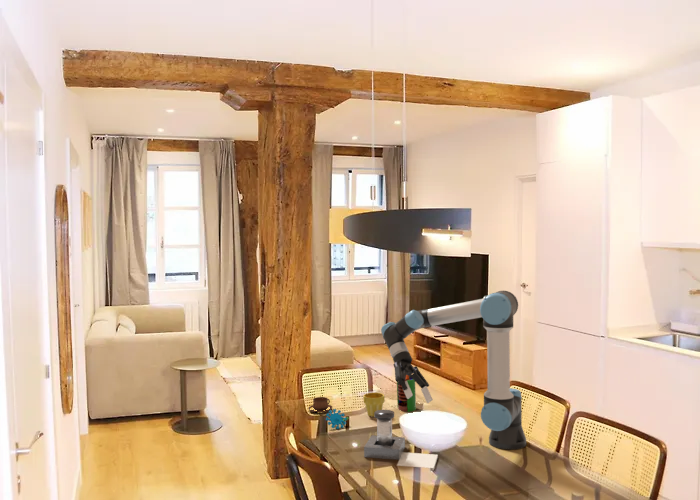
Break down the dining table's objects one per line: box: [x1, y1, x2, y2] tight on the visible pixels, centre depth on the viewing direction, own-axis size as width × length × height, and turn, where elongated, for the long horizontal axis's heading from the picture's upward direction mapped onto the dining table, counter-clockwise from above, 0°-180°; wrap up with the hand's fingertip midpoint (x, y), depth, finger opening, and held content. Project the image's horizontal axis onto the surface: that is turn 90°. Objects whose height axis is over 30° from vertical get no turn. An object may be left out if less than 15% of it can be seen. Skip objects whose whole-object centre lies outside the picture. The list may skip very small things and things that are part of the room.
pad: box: [396, 451, 439, 472], centre depth 238 cm, size 14×14×1 cm
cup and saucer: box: [308, 396, 333, 413], centre depth 309 cm, size 12×12×6 cm
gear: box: [325, 408, 349, 430], centre depth 284 cm, size 11×6×10 cm
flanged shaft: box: [373, 409, 395, 446], centre depth 247 cm, size 8×8×16 cm
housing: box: [363, 434, 406, 461], centre depth 247 cm, size 14×14×5 cm
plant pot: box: [362, 392, 385, 418], centre depth 300 cm, size 10×10×10 cm
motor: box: [396, 375, 417, 413], centre depth 309 cm, size 10×9×20 cm
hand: (420, 399), depth 246 cm, fingers open, 13 cm apart
